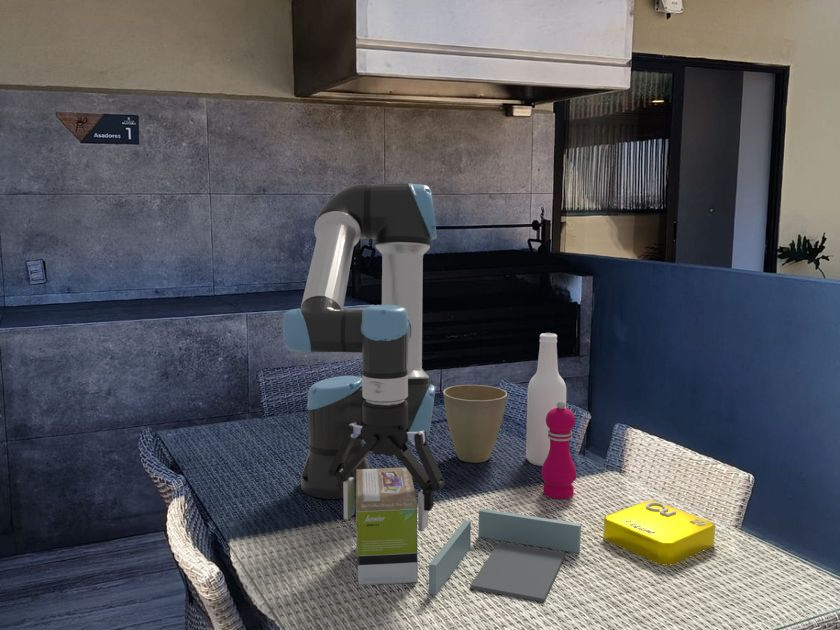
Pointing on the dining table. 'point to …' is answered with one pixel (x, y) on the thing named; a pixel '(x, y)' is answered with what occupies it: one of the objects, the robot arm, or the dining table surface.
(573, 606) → the dining table surface
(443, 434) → the dining table surface
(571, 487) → the pepper mill
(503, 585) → the mat
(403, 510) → the tea box
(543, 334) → the alcohol
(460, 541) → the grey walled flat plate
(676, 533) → the element tile
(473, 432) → the plant pot
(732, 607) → the dining table surface
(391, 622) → the dining table surface
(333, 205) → the robot arm
